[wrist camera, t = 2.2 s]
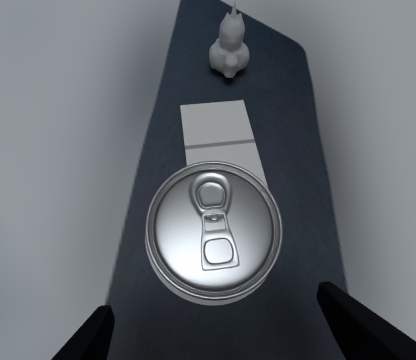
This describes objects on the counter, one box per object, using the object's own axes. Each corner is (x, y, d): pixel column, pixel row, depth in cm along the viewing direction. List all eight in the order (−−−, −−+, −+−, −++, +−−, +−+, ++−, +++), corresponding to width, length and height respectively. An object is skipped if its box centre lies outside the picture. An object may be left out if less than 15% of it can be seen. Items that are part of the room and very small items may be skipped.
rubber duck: (243, 57, 30) (256, -9, 23) (247, 88, 28) (264, 24, 20) (208, 56, 30) (210, -11, 23) (209, 88, 27) (212, 23, 20)
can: (233, 210, 20) (271, 146, 10) (246, 279, 18) (317, 300, 7) (171, 217, 20) (135, 159, 9) (175, 289, 17) (131, 330, 6)
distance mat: (270, 199, 21) (271, 199, 21) (192, 210, 20) (192, 209, 20) (243, 100, 27) (243, 100, 27) (180, 106, 26) (180, 105, 26)
